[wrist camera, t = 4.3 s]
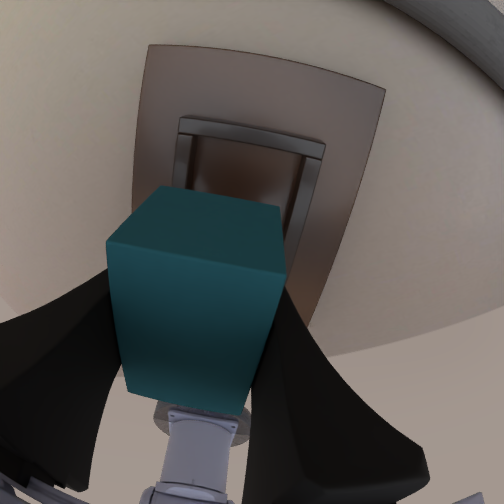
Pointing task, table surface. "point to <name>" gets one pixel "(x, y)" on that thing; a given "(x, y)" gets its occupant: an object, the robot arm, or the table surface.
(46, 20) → the table surface
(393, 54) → the table surface
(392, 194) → the table surface
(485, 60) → the flashlight
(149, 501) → the robot arm
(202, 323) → the teal block
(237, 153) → the brown board with frame
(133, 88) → the table surface
